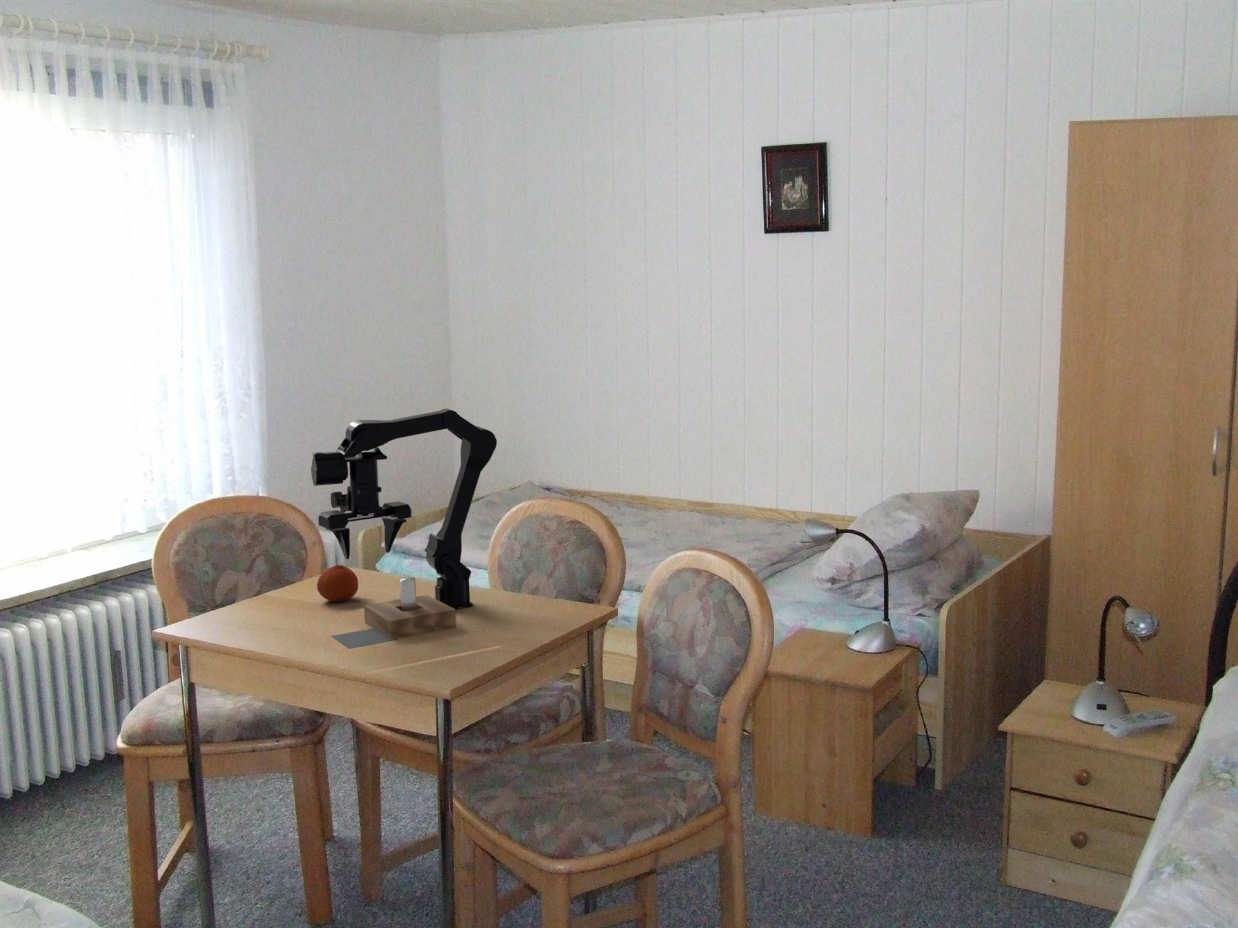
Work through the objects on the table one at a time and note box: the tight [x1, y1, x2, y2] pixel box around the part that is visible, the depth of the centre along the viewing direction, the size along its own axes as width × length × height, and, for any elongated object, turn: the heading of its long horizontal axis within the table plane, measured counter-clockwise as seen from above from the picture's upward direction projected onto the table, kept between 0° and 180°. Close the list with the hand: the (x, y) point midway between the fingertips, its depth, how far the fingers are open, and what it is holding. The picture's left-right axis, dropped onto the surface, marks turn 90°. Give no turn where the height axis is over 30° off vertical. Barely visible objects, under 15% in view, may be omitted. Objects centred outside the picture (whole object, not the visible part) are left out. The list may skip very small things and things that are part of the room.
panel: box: [331, 627, 399, 650], centre depth 246 cm, size 10×10×1 cm
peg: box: [399, 576, 417, 612], centre depth 254 cm, size 3×3×10 cm
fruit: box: [316, 564, 359, 603], centre depth 275 cm, size 9×9×8 cm
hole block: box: [363, 594, 457, 639], centre depth 254 cm, size 14×14×4 cm
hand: (367, 555), depth 260 cm, fingers open, 9 cm apart
